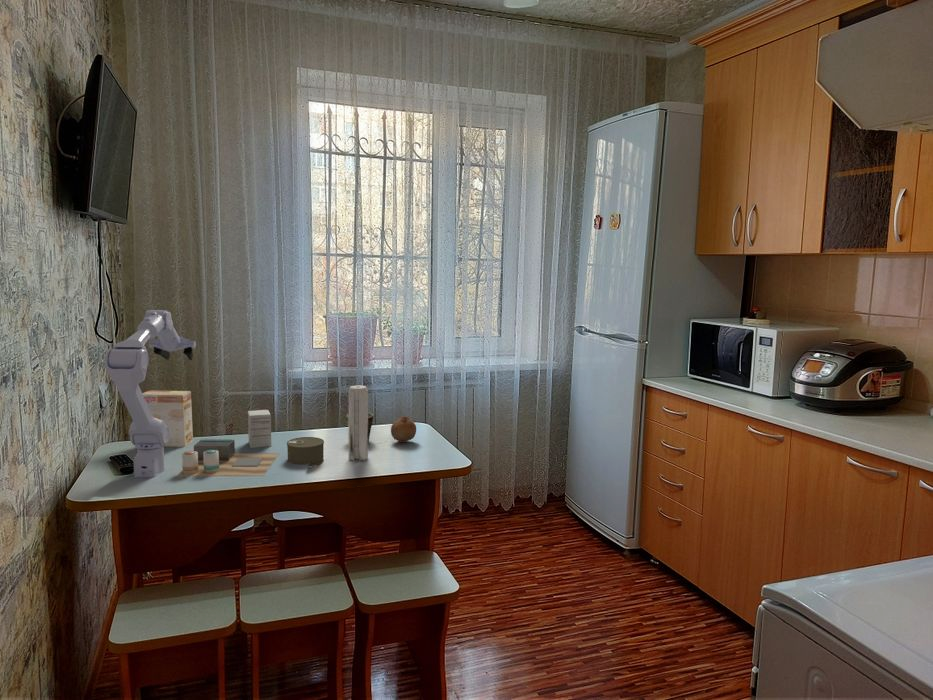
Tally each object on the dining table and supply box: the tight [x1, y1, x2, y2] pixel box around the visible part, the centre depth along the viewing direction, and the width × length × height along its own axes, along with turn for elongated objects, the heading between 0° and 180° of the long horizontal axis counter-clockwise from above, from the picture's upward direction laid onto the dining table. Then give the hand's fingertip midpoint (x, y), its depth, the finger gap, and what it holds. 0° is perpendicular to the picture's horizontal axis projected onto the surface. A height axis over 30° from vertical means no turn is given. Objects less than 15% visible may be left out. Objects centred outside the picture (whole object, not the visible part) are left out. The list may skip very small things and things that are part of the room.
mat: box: [232, 458, 263, 466], centre depth 209 cm, size 8×8×1 cm
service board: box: [176, 452, 280, 477], centre depth 207 cm, size 23×26×1 cm
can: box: [286, 436, 325, 468], centre depth 214 cm, size 12×12×7 cm
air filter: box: [347, 385, 369, 462], centre depth 217 cm, size 6×6×25 cm
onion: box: [390, 415, 417, 443], centre depth 238 cm, size 10×9×10 cm
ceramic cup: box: [345, 412, 374, 443], centre depth 237 cm, size 13×10×10 cm
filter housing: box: [193, 438, 236, 461], centre depth 213 cm, size 7×11×5 cm
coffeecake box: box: [142, 389, 194, 448], centre depth 226 cm, size 15×7×20 cm, turn 89°
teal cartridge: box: [203, 450, 219, 473], centre depth 200 cm, size 4×4×6 cm
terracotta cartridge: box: [181, 450, 198, 474], centre depth 198 cm, size 4×4×6 cm
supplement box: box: [247, 409, 272, 449], centre depth 228 cm, size 7×7×13 cm
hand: (179, 357), depth 221 cm, fingers open, 7 cm apart
